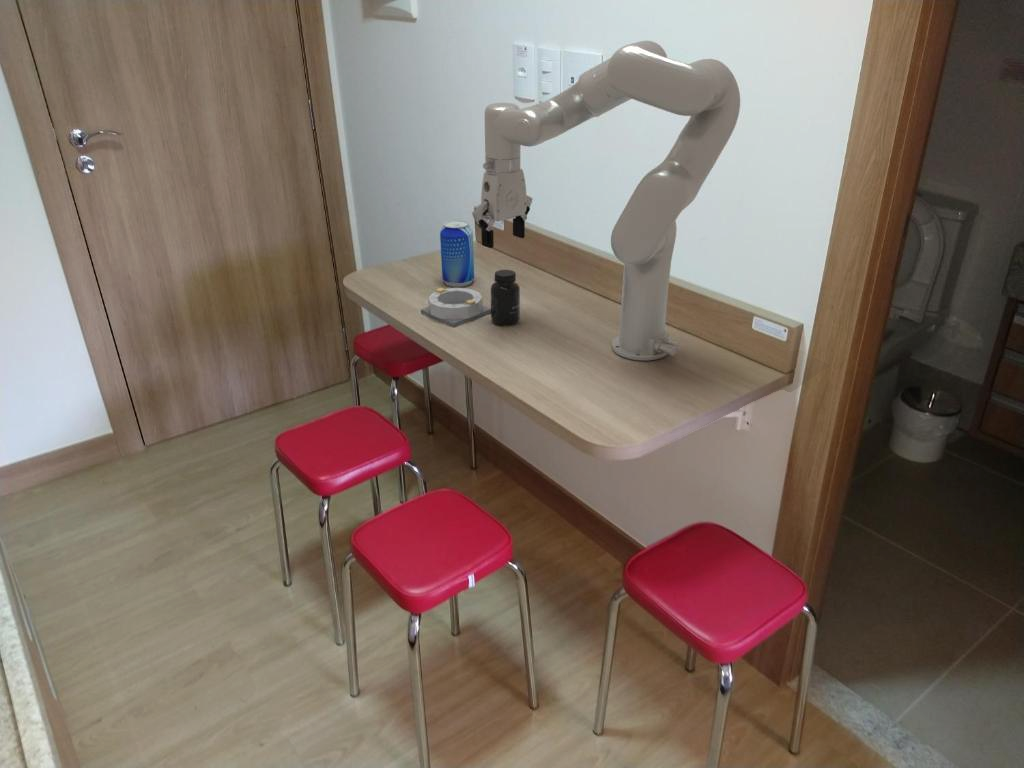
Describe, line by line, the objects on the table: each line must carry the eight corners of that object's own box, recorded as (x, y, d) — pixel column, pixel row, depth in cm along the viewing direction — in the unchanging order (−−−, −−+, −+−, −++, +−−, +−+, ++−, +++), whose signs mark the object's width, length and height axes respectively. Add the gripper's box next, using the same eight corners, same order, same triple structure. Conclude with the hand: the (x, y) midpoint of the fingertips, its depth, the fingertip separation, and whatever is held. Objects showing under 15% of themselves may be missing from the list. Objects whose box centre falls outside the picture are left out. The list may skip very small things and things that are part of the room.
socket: (492, 312, 191) (492, 294, 189) (453, 328, 184) (452, 309, 181) (458, 299, 199) (457, 281, 197) (419, 313, 192) (418, 295, 189)
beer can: (437, 286, 207) (434, 226, 200) (449, 275, 214) (446, 217, 207) (468, 289, 205) (465, 229, 197) (478, 278, 212) (477, 219, 204)
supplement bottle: (519, 327, 184) (519, 278, 178) (490, 327, 184) (489, 278, 178) (520, 315, 190) (519, 267, 184) (491, 315, 190) (490, 267, 184)
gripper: (485, 174, 162) (486, 254, 170) (543, 160, 173) (542, 236, 181) (460, 168, 167) (463, 246, 175) (518, 155, 177) (518, 229, 186)
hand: (503, 241), depth 178 cm, fingers open, 9 cm apart
